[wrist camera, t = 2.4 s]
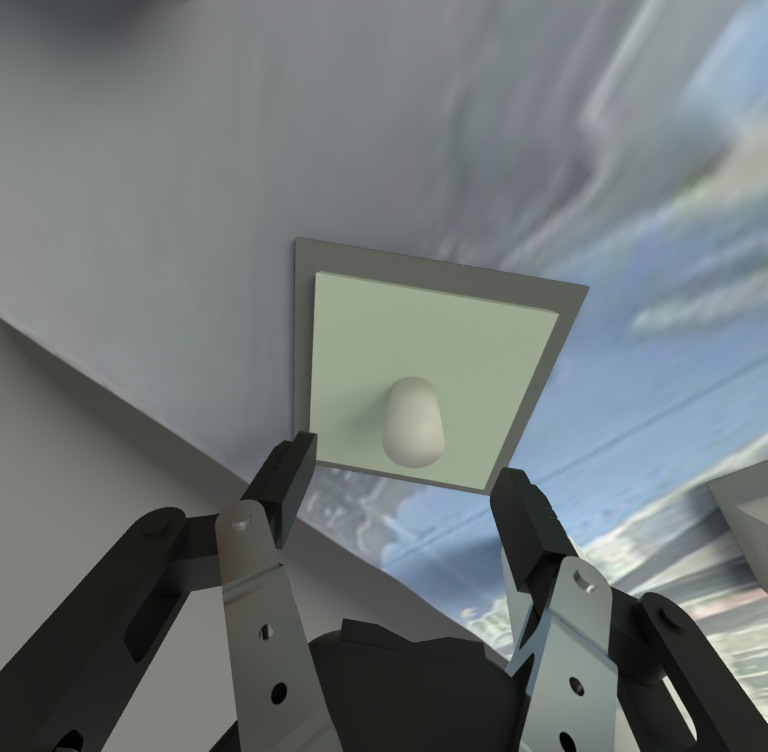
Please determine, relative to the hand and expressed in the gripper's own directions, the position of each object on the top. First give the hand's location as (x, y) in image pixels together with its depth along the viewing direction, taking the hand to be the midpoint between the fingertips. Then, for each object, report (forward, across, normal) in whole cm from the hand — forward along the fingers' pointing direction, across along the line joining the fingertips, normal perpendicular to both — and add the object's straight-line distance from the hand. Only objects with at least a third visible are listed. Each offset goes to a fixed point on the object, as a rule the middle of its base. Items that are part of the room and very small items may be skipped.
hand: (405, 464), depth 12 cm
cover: (+7, 0, 0) cm, 7 cm away
